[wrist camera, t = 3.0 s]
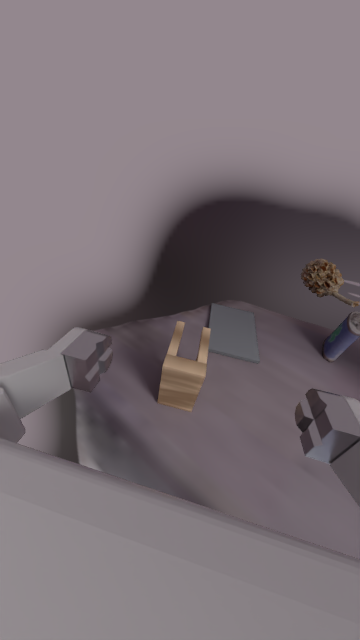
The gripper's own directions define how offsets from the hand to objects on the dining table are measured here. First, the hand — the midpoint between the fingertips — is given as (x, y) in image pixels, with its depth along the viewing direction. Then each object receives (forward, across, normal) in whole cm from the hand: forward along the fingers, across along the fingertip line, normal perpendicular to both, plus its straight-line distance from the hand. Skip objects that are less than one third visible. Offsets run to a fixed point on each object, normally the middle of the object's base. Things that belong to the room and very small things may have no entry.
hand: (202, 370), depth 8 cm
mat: (+35, -7, +21) cm, 41 cm away
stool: (+18, +2, +23) cm, 29 cm away
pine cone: (+62, -34, +18) cm, 73 cm away
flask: (+38, -30, +21) cm, 52 cm away
